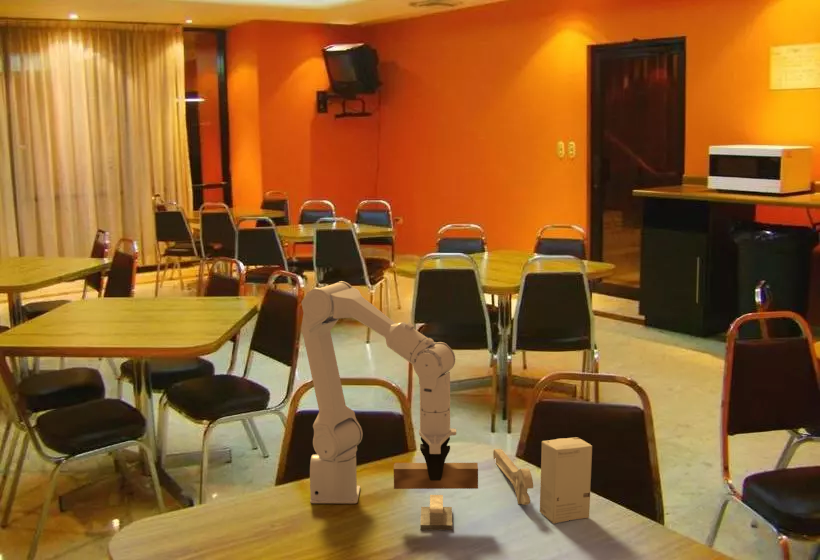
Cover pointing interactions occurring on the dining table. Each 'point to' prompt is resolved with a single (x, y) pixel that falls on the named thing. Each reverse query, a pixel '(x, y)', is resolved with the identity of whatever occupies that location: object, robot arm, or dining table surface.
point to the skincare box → (565, 479)
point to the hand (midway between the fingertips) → (435, 476)
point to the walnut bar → (451, 479)
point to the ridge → (436, 515)
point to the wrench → (515, 476)
